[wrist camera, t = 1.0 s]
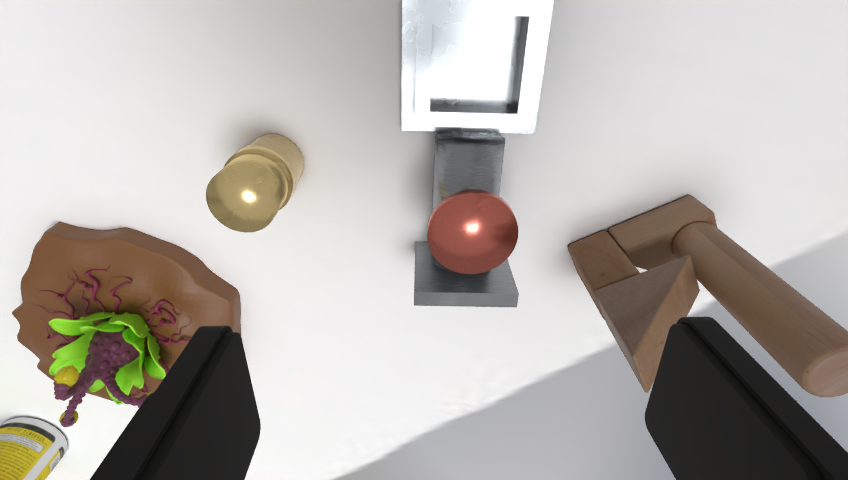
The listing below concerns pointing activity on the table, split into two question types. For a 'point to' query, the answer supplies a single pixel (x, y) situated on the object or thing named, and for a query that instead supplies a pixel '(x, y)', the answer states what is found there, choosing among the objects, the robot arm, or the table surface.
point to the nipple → (255, 183)
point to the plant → (115, 311)
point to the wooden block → (677, 290)
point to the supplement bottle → (29, 449)
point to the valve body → (470, 135)
